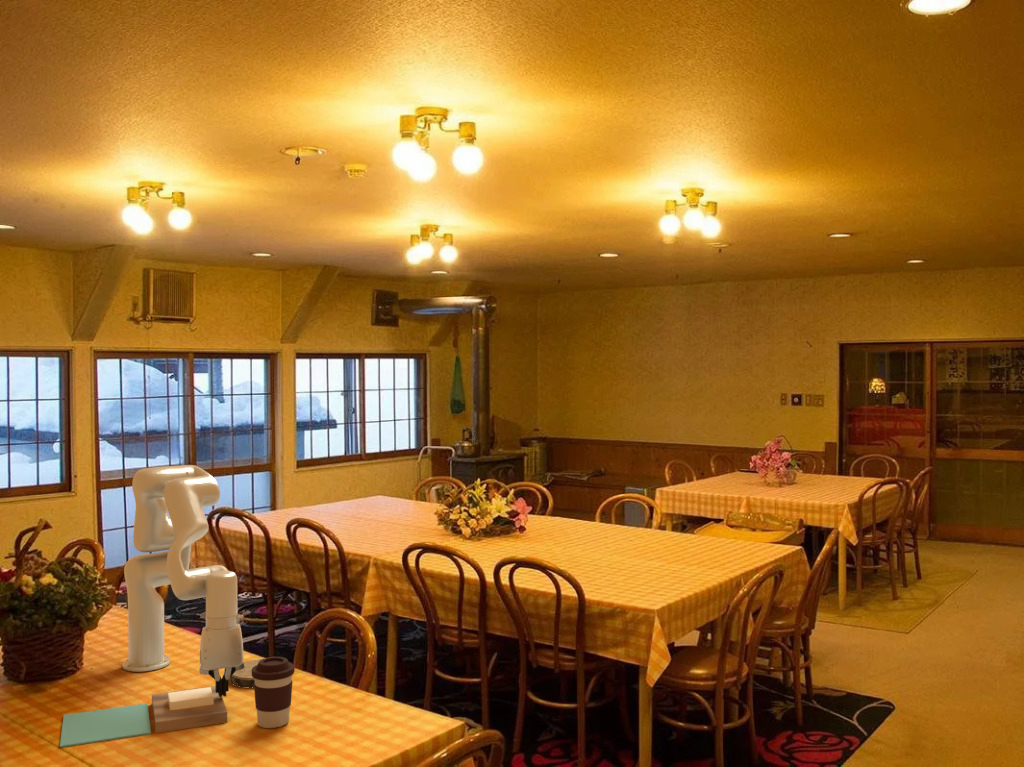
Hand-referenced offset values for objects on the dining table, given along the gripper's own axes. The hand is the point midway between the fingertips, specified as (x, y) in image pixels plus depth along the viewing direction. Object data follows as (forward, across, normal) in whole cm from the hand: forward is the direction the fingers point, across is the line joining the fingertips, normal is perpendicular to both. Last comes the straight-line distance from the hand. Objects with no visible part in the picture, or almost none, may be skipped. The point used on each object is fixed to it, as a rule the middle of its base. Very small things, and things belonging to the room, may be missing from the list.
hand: (222, 694), depth 227 cm
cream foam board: (+1, +7, 0) cm, 7 cm away
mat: (+3, +26, 0) cm, 27 cm away
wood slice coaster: (+4, -12, -19) cm, 23 cm away
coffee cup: (+4, -10, +15) cm, 18 cm away
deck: (+3, +8, 0) cm, 9 cm away
